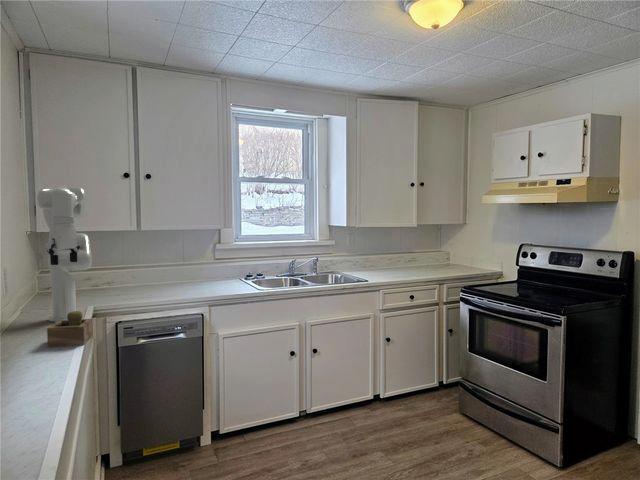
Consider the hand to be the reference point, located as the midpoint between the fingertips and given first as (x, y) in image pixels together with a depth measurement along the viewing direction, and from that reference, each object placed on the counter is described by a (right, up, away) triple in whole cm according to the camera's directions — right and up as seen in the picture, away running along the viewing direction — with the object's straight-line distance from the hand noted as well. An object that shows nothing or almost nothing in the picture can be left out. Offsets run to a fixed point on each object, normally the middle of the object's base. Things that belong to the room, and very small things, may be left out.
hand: (64, 263), depth 177 cm
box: (+9, -29, -11) cm, 33 cm away
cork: (+10, -29, -9) cm, 32 cm away
